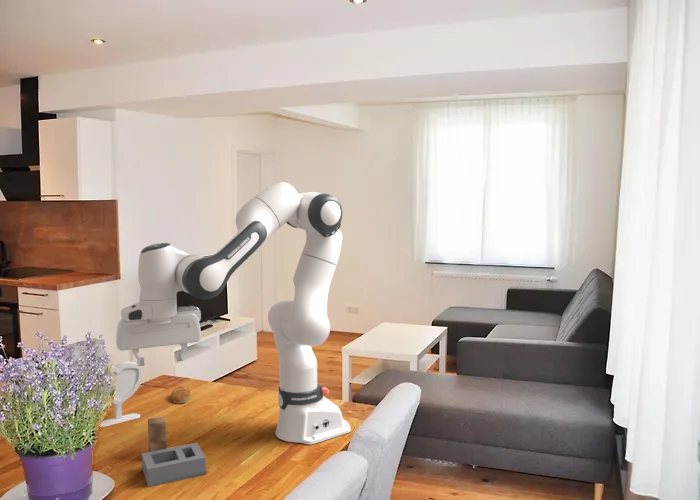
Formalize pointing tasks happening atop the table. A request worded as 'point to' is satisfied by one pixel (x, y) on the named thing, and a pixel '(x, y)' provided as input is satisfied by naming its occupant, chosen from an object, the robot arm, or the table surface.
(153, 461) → the caddy
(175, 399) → the pastry
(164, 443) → the walnut peg
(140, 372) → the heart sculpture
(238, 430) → the table surface
